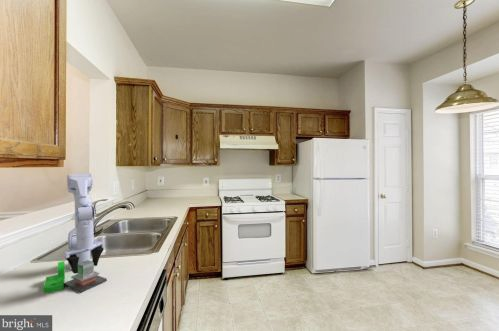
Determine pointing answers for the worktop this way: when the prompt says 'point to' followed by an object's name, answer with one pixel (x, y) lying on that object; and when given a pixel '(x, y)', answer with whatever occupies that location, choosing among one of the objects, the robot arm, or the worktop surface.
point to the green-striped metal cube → (85, 268)
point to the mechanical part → (55, 280)
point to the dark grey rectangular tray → (85, 282)
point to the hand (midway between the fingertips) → (85, 269)
